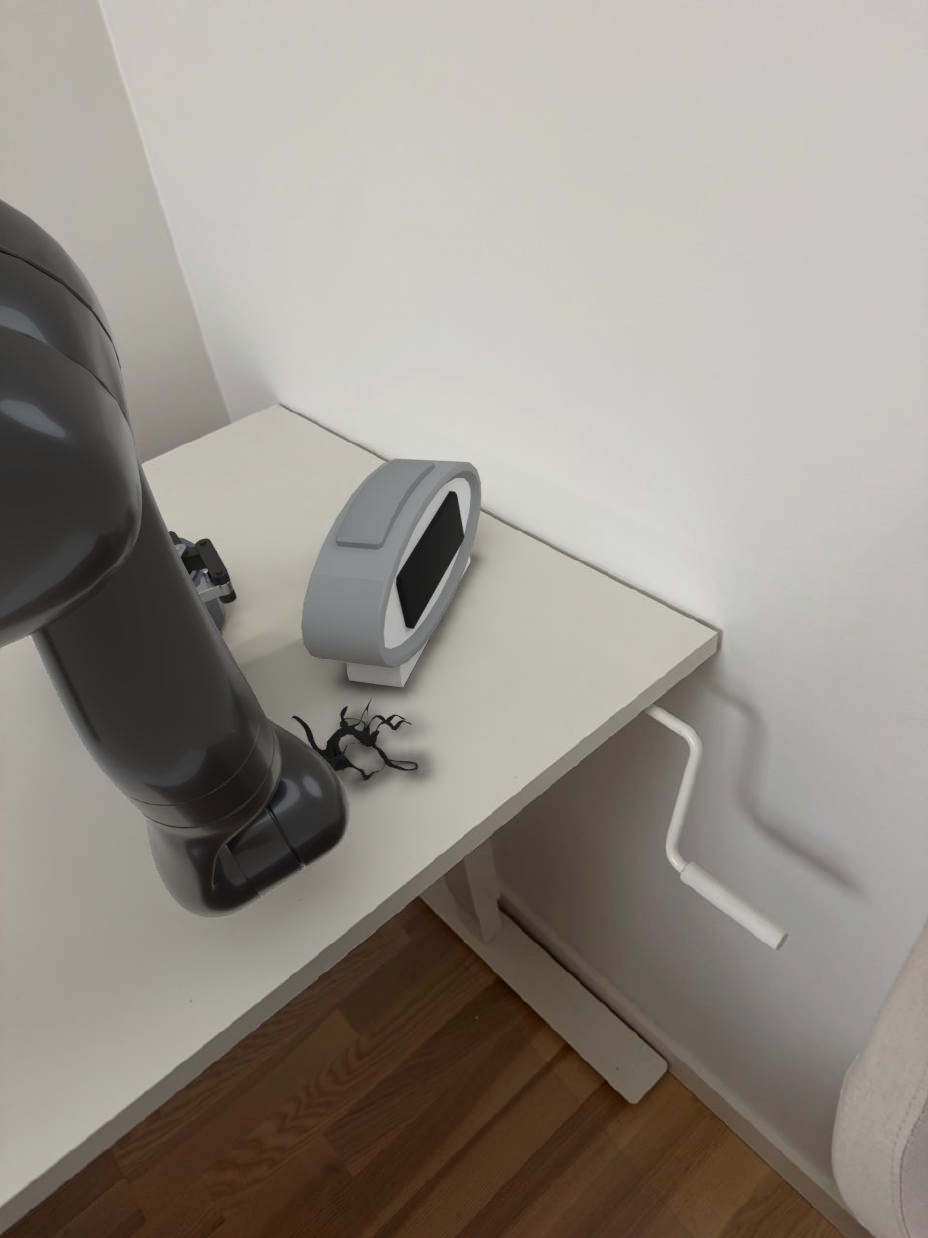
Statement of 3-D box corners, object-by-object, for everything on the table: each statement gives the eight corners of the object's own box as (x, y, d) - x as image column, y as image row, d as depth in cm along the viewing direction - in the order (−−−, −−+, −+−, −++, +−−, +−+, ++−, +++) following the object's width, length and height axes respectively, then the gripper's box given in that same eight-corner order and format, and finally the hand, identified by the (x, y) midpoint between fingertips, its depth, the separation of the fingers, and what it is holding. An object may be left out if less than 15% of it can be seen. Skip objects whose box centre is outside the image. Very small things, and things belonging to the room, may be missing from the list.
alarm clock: (397, 719, 71) (362, 582, 63) (324, 708, 73) (280, 575, 65) (491, 540, 88) (472, 415, 80) (428, 536, 90) (404, 413, 82)
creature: (376, 715, 73) (287, 757, 69) (375, 657, 71) (282, 696, 66) (442, 766, 68) (351, 815, 64) (443, 705, 66) (348, 751, 61)
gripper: (250, 580, 64) (180, 485, 75) (37, 671, 59) (-3, 556, 71) (279, 663, 68) (209, 562, 80) (84, 754, 64) (39, 633, 75)
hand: (109, 559), depth 75 cm, fingers open, 8 cm apart
